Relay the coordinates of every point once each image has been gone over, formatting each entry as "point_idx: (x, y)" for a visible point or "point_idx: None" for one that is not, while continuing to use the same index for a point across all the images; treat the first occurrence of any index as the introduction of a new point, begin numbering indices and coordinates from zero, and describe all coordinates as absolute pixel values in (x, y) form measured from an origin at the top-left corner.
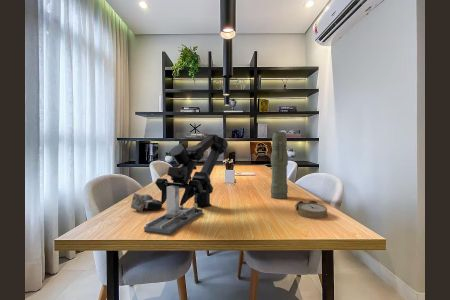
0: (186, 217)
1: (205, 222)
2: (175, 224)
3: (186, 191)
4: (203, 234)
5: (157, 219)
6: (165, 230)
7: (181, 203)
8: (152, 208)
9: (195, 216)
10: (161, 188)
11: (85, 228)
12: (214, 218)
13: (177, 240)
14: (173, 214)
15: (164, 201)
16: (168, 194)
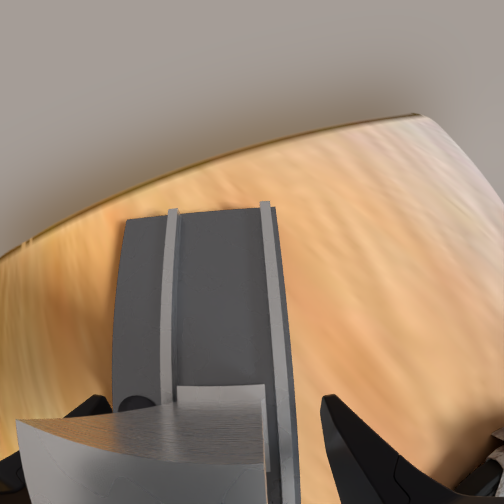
0: None
1: None
2: (134, 297)
3: (2, 475)
4: (30, 284)
5: (268, 299)
6: (151, 219)
7: (86, 402)
8: (466, 480)
9: None
10: (468, 498)
11: (471, 179)
12: None
13: (95, 204)
14: (189, 386)
15: (326, 443)
16: (224, 426)
